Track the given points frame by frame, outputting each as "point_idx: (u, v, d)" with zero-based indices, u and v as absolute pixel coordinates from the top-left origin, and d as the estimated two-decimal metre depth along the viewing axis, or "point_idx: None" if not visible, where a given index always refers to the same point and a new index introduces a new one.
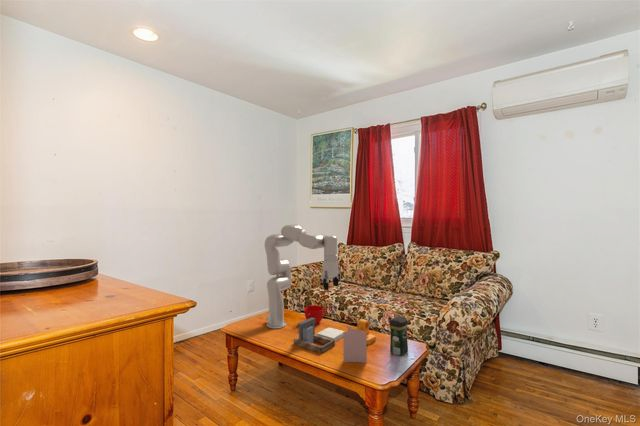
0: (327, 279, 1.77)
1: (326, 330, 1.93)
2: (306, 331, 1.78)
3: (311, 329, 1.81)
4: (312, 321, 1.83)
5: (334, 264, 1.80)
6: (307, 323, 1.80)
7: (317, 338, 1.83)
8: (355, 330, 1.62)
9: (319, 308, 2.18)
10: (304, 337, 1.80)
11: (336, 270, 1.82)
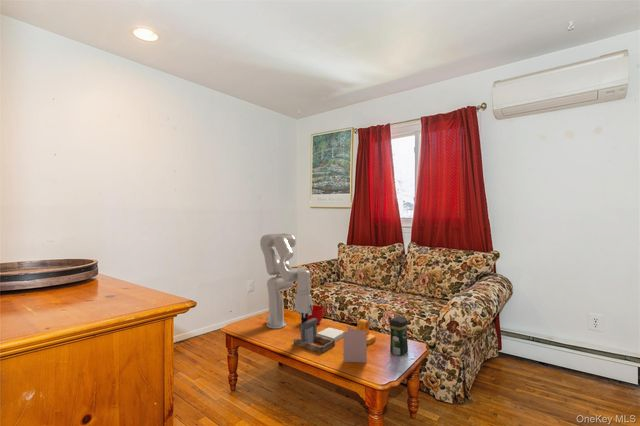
0: None
1: (326, 330, 1.93)
2: (306, 331, 1.78)
3: (311, 329, 1.81)
4: (314, 322, 1.82)
5: None
6: (309, 324, 1.79)
7: (317, 338, 1.83)
8: (355, 330, 1.62)
9: (319, 308, 2.18)
10: None
11: None
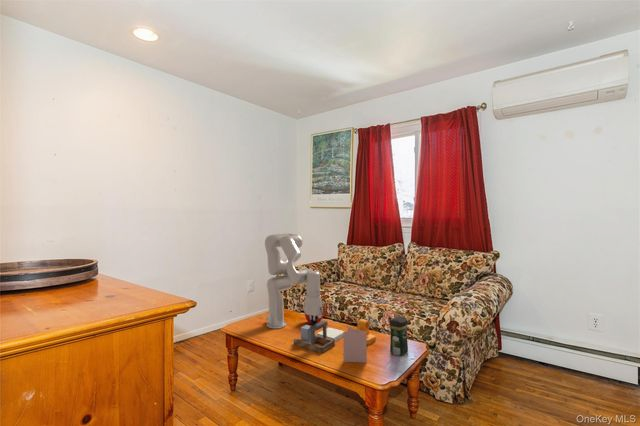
0: None
1: None
2: (306, 331, 1.78)
3: None
4: (324, 324, 1.78)
5: None
6: (319, 326, 1.74)
7: (317, 338, 1.83)
8: (355, 330, 1.62)
9: None
10: (304, 337, 1.80)
11: None
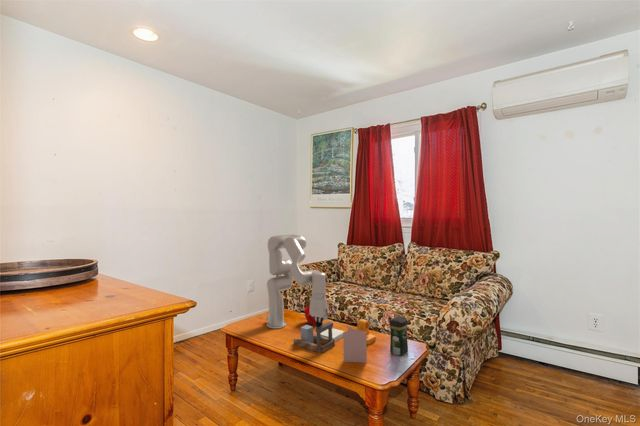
0: None
1: (326, 330, 1.93)
2: (306, 331, 1.78)
3: (311, 329, 1.81)
4: (330, 326, 1.76)
5: None
6: (325, 328, 1.72)
7: None
8: (355, 330, 1.62)
9: None
10: (304, 337, 1.80)
11: None
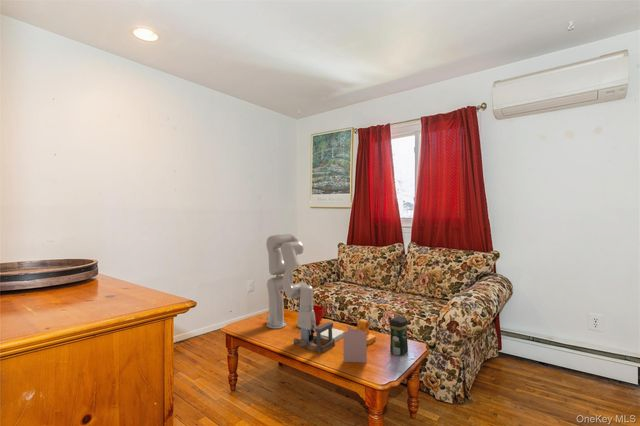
0: (313, 330, 1.80)
1: (326, 330, 1.93)
2: (306, 331, 1.78)
3: None
4: (330, 326, 1.76)
5: None
6: (325, 328, 1.72)
7: None
8: (355, 330, 1.62)
9: (319, 308, 2.18)
10: (304, 337, 1.80)
11: None
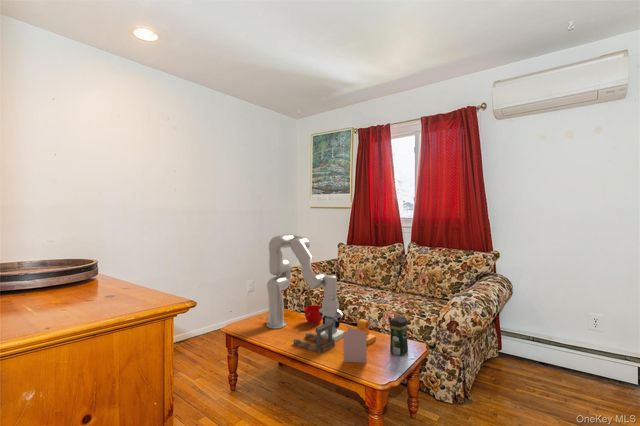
0: None
1: None
2: (331, 321, 1.86)
3: (335, 319, 1.89)
4: (330, 326, 1.76)
5: None
6: (325, 328, 1.72)
7: None
8: (355, 330, 1.62)
9: (319, 308, 2.18)
10: None
11: None
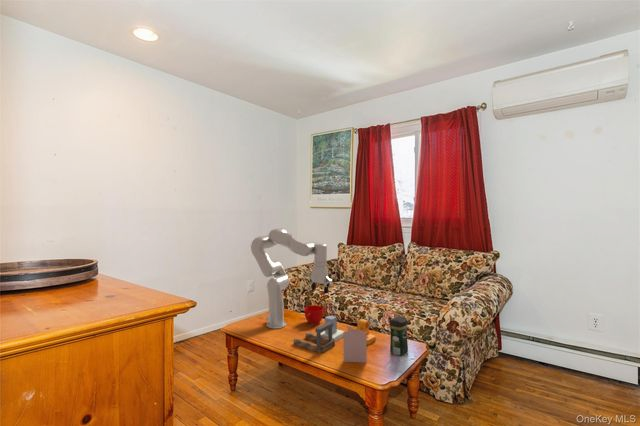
0: None
1: None
2: (331, 321, 1.86)
3: (335, 319, 1.89)
4: (330, 326, 1.76)
5: None
6: (325, 328, 1.72)
7: None
8: (355, 330, 1.62)
9: (319, 308, 2.18)
10: None
11: None
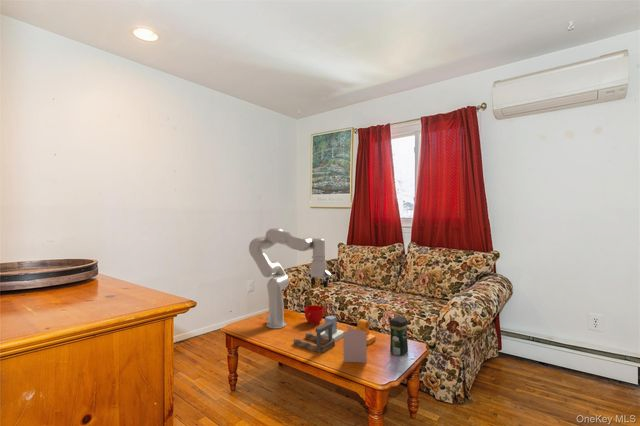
0: (327, 277, 1.95)
1: None
2: (331, 321, 1.86)
3: (335, 319, 1.89)
4: (330, 326, 1.76)
5: None
6: (325, 328, 1.72)
7: None
8: (355, 330, 1.62)
9: (319, 308, 2.18)
10: None
11: None
